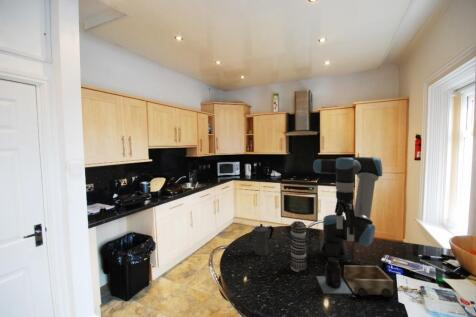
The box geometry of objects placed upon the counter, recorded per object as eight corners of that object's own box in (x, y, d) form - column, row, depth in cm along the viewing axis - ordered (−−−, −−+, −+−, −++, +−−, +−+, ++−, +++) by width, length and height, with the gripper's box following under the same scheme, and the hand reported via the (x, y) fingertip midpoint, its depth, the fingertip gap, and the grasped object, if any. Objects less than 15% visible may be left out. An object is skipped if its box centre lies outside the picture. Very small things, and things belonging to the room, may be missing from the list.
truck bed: (356, 297, 96) (356, 281, 95) (342, 277, 110) (342, 263, 110) (394, 298, 95) (395, 282, 94) (376, 278, 109) (376, 264, 109)
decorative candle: (295, 261, 126) (295, 218, 125) (310, 267, 120) (310, 222, 118) (286, 267, 120) (286, 222, 118) (302, 274, 113) (301, 227, 112)
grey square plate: (351, 295, 97) (323, 294, 98) (341, 278, 109) (316, 278, 110) (351, 292, 97) (323, 292, 98) (341, 276, 109) (316, 276, 110)
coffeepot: (255, 257, 131) (255, 228, 130) (248, 251, 140) (248, 223, 139) (277, 252, 137) (277, 224, 136) (269, 246, 146) (269, 219, 145)
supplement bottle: (322, 280, 106) (322, 256, 106) (336, 279, 107) (336, 255, 106) (329, 289, 100) (329, 263, 99) (344, 288, 100) (344, 262, 99)
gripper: (365, 197, 91) (365, 246, 93) (343, 185, 116) (343, 224, 117) (346, 197, 92) (346, 246, 93) (328, 185, 116) (328, 224, 118)
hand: (344, 234), depth 105 cm, fingers open, 13 cm apart
